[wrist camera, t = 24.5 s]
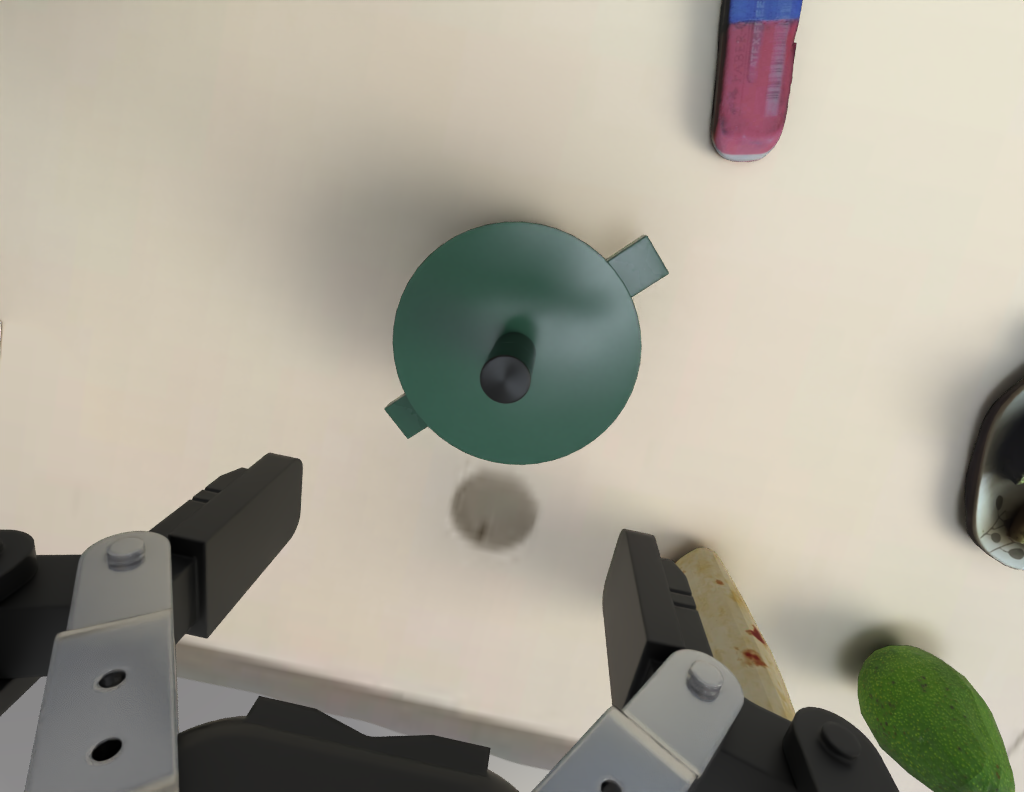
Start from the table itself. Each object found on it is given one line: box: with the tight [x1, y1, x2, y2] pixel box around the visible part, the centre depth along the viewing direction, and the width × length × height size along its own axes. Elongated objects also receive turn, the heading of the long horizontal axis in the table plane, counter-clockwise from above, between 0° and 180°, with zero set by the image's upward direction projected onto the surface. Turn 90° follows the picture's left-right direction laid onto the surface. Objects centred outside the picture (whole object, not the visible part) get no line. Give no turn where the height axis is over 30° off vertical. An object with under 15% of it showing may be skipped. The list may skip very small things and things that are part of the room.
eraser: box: [711, 0, 803, 162], centre depth 30 cm, size 11×4×2 cm, turn 1°
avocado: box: [858, 645, 1015, 792], centre depth 39 cm, size 8×8×12 cm
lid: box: [393, 222, 641, 465], centre depth 27 cm, size 14×14×6 cm
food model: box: [675, 547, 795, 721], centre depth 34 cm, size 10×7×20 cm
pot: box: [385, 235, 669, 439], centre depth 33 cm, size 13×18×8 cm
